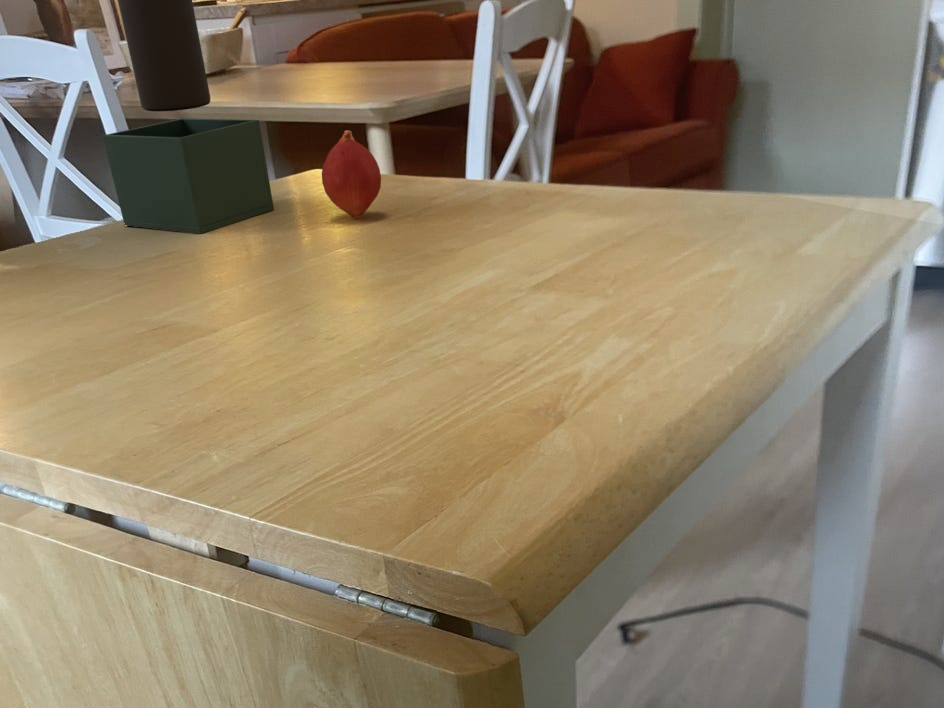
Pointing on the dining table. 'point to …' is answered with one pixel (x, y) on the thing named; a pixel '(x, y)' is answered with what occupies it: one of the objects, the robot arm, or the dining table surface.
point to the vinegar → (165, 54)
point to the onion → (351, 176)
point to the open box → (190, 173)
